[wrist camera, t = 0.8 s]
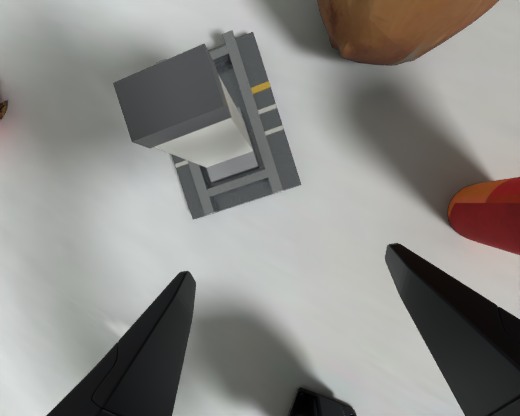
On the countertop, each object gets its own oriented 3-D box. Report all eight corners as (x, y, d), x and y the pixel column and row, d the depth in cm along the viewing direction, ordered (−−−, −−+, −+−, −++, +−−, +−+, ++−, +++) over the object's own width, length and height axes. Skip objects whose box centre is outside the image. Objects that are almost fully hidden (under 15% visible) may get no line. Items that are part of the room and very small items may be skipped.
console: (300, 185, 23) (302, 183, 20) (197, 218, 24) (187, 220, 22) (254, 40, 23) (251, 22, 20) (154, 82, 24) (139, 70, 22)
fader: (260, 166, 22) (233, 133, 11) (213, 182, 23) (140, 167, 11) (242, 110, 22) (195, 16, 11) (195, 128, 23) (104, 57, 11)
